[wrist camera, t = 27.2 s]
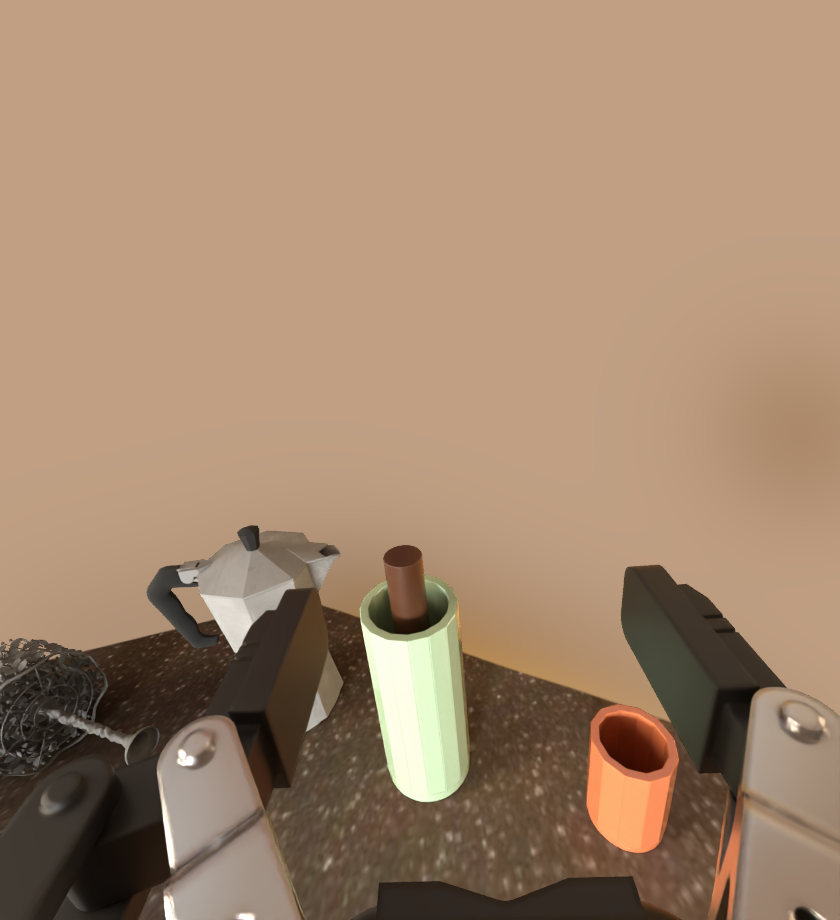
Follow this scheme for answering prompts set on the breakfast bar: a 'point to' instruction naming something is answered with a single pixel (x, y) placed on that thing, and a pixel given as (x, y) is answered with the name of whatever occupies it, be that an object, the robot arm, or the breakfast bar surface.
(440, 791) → the vase
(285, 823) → the breakfast bar surface
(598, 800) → the pot
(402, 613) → the bottle brush
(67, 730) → the massage brush
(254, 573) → the coffeepot
